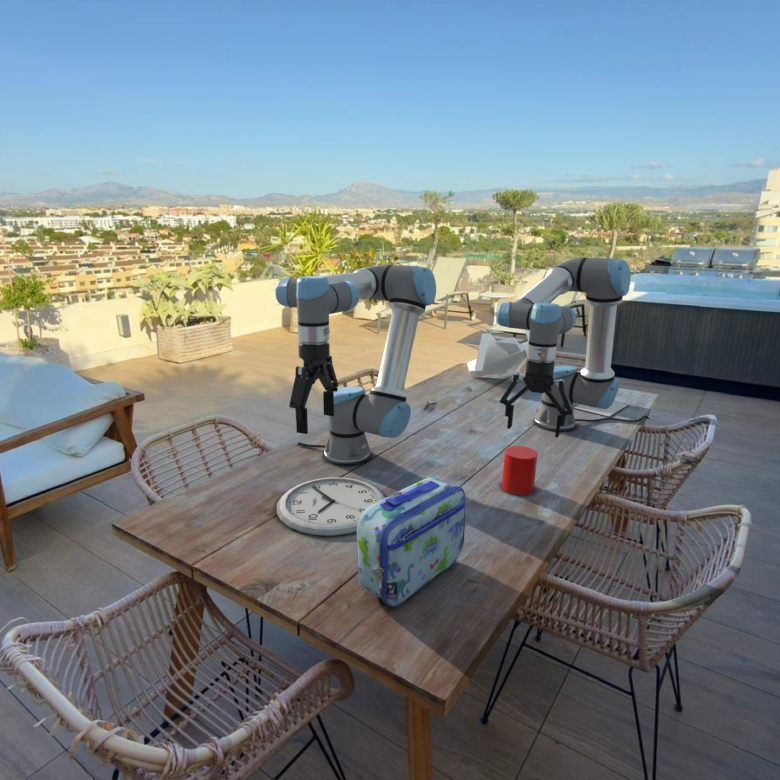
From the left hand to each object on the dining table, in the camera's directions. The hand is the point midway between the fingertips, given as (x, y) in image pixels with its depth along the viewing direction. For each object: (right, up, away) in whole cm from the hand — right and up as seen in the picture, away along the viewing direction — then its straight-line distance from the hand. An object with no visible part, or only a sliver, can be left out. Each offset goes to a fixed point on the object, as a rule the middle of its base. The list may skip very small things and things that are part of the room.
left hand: (316, 423), depth 133 cm
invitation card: (+110, +1, +93) cm, 145 cm away
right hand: (+60, -3, +18) cm, 63 cm away
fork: (+35, +2, +91) cm, 98 cm away
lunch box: (+24, -32, -19) cm, 44 cm away
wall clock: (+3, -23, +10) cm, 25 cm away
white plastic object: (+76, +12, +125) cm, 147 cm away
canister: (+56, -20, +21) cm, 64 cm away
